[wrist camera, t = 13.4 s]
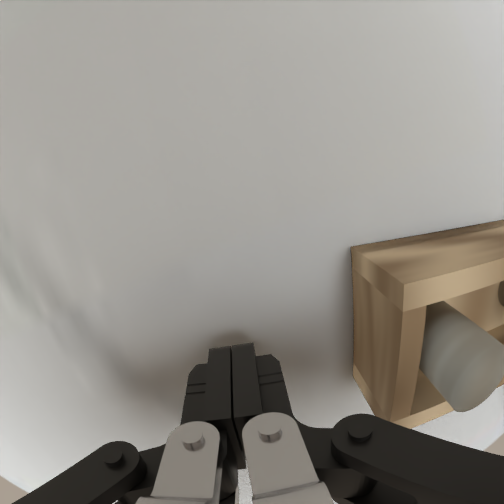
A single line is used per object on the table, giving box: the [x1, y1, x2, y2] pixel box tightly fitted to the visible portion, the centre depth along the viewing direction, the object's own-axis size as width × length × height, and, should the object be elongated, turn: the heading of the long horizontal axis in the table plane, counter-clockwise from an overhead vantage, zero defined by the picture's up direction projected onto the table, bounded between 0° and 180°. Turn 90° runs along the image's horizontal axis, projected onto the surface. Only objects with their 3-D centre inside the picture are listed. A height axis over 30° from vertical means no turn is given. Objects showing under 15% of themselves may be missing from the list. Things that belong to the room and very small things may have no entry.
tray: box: [351, 220, 504, 429], centre depth 10 cm, size 11×6×6 cm, turn 98°
